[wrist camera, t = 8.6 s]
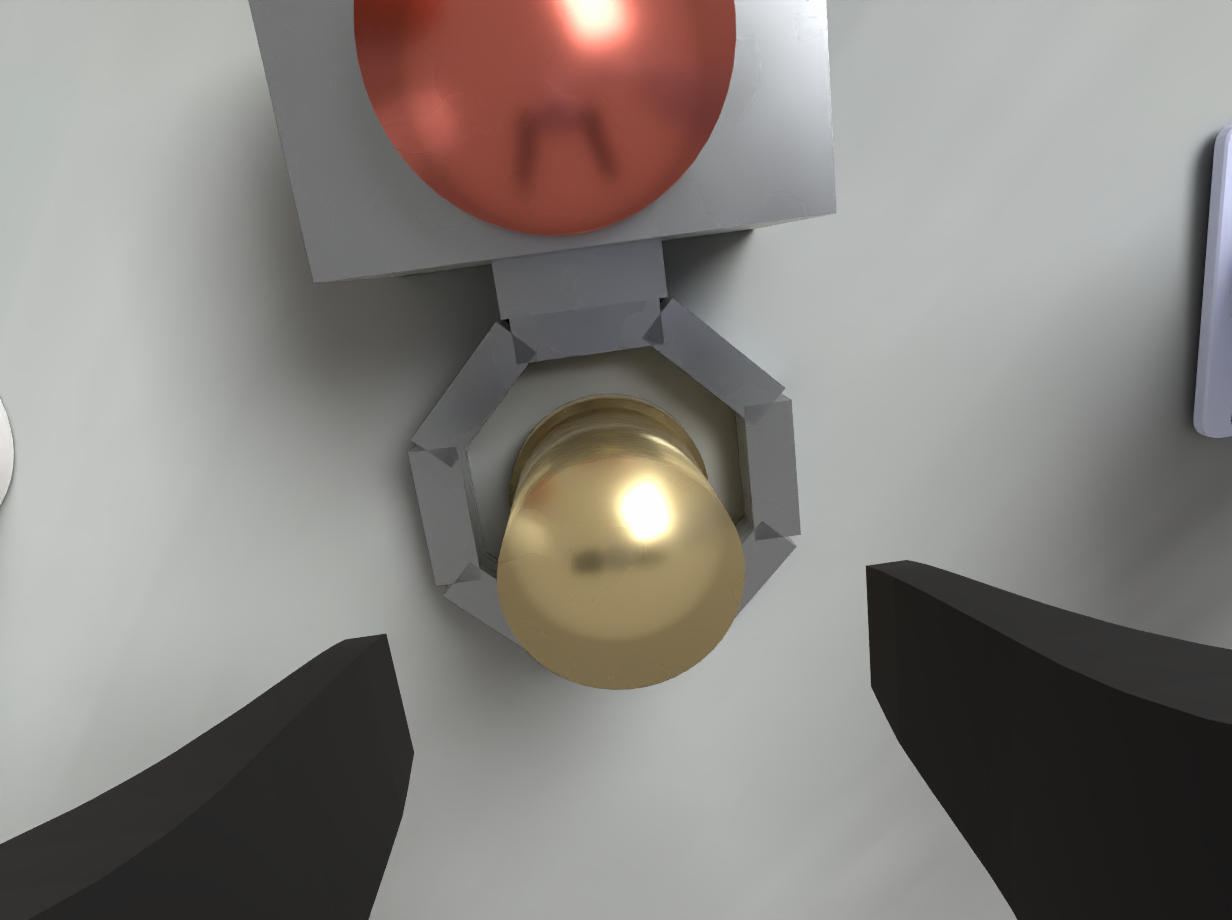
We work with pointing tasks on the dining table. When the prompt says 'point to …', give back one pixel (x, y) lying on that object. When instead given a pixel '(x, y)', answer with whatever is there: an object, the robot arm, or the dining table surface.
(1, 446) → the cup
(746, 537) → the red button switch
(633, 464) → the knob
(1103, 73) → the dining table surface
